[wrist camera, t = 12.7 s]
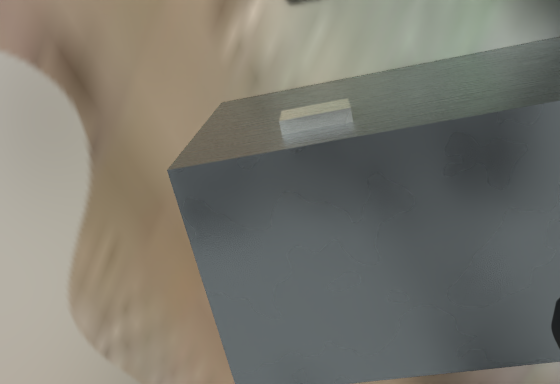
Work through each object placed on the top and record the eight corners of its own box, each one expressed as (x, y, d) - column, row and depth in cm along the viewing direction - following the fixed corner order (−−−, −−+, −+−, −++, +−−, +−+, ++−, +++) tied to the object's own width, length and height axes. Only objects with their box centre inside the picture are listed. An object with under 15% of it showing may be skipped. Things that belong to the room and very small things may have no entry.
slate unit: (716, 206, 20) (951, 331, 13) (264, 270, 23) (241, 404, 15) (754, -13, 17) (1103, -16, 9) (219, 93, 19) (162, 155, 12)
